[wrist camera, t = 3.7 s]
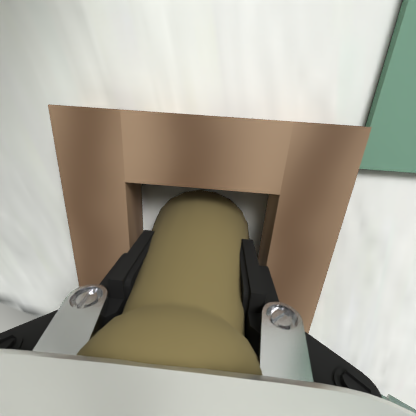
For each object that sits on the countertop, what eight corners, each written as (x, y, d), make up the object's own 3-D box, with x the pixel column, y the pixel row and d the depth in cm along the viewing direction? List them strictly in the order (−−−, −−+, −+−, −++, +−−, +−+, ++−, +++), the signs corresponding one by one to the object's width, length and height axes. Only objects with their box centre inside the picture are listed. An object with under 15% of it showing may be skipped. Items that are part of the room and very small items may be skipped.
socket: (344, 126, 11) (371, 127, 9) (290, 329, 16) (300, 358, 14) (78, 108, 12) (48, 104, 10) (104, 309, 17) (87, 335, 15)
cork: (252, 190, 13) (370, 453, 3) (246, 276, 15) (297, 610, 5) (149, 189, 13) (-108, 415, 3) (158, 273, 15) (26, 577, 5)
